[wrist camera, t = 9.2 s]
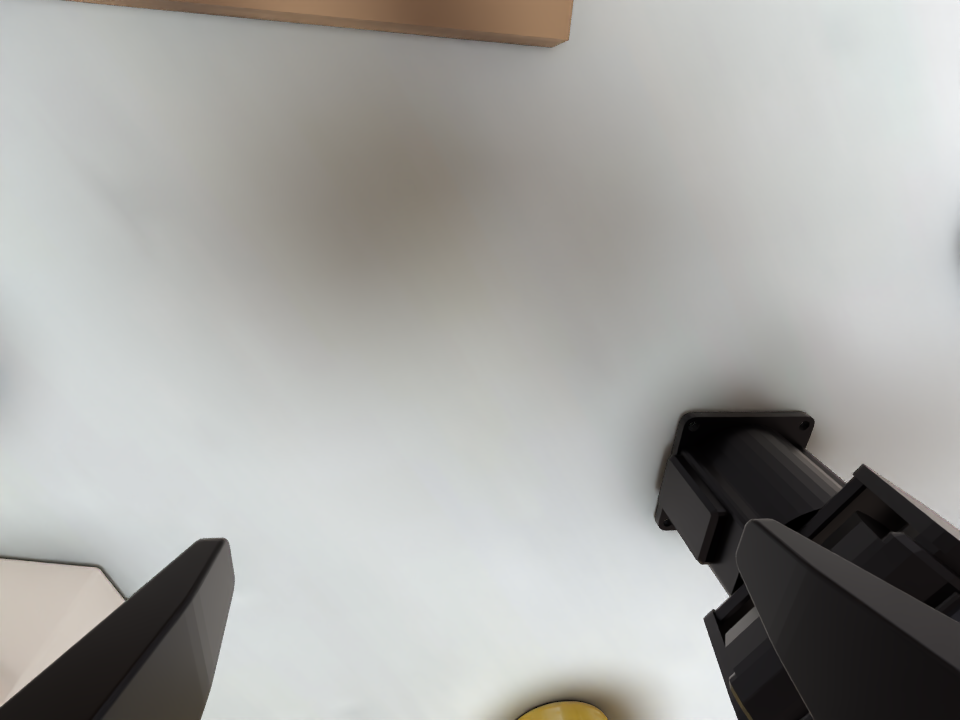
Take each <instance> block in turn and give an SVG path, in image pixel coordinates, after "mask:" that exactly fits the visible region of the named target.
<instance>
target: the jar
mask: <svg viewBox="0 0 960 720" xmlns="http://www.w3.org/2000/svg"><path fill="white" fill-rule="evenodd" d="M124 602H125V600H124V599H123V597H122V596H121V595H120V594H119V592H118V591H117V590H116V589H115V587H114V586H113V585H112V584H111V582H110V581H109V580H108V579H107V577H106V576H105V575H104V574H103V572H102V571H101V570H100V569H99V568H96V567H86V566H76V565H65V564H55V563H44V562H34V561H23V560H12V559H2V558H0V707H1V706H2V705H3V704H4V703H5V702H7V701H8V700H9V699H10V698H11V697H13V696H14V695H15V694H16V693H17V692H18V691H20V690H21V689H22V688H23V687H24V686H26V685H27V684H28V683H29V682H30V681H31V680H33V679H34V678H35V677H36V676H37V675H39V674H40V673H41V672H42V671H43V670H44V669H46V668H47V667H48V666H49V665H50V664H52V663H53V662H54V661H55V660H56V659H57V658H59V657H60V656H61V655H62V654H63V653H65V652H66V651H67V650H68V649H69V648H71V647H72V646H73V645H74V644H75V643H76V642H78V641H79V640H80V639H81V638H82V637H84V636H85V635H86V634H87V633H88V632H89V631H91V630H92V629H93V628H94V627H95V626H97V625H98V624H99V623H100V622H101V621H102V620H104V619H105V618H106V617H107V616H108V615H110V614H111V613H112V612H113V611H114V610H115V609H117V608H118V607H119V606H120V605H121V604H123V603H124Z"/></svg>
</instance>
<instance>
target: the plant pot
mask: <svg viewBox="0 0 960 720" xmlns="http://www.w3.org/2000/svg"><path fill="white" fill-rule="evenodd" d="M518 720H608V719H607V717H606V716H605V715H604V714H603V712H602V711H601V710H599V709H598V708H596V707H595V706H593V705H590V704H587V703H583V702H576V701H563V702H555V703H550V704H546V705H543V706H540V707H537V708H535V709H533V710H531V711H529V712H528V713H526V714H524V715H523V716H522V717H520V718H519V719H518Z"/></svg>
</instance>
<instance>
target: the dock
mask: <svg viewBox="0 0 960 720" xmlns="http://www.w3.org/2000/svg"><path fill="white" fill-rule="evenodd" d="M66 1H76V2H86V3H97V4H107V5H117V6H128V7H138V8H148V9H159V10H169V11H179V12H190V13H200V14H210V15H221V16H231V17H241V18H252V19H262V20H272V21H283V22H293V23H303V24H314V25H324V26H334V27H345V28H355V29H366V30H376V31H386V32H397V33H407V34H417V35H428V36H438V37H448V38H459V39H469V40H479V41H490V42H500V43H510V44H521V45H531V46H541V47H554V46H557V45H559V44H561V43H563V42H565V41H568V40H569V33H570V24H571V16H572V7H573V0H66Z"/></svg>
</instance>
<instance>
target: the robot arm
mask: <svg viewBox="0 0 960 720" xmlns="http://www.w3.org/2000/svg"><path fill="white" fill-rule="evenodd" d="M692 422H695V423H694V425H692V426H690V427H689V425H690V424H691V423H692ZM802 422H803V423H802ZM801 423H802V424H801ZM814 423H815V422H814V419H813V418H812V417H810V416H809V415H808V414H806V413H804V412H692V413H688V414H686V415H684V416H683V417H682V418H681V420H680V422H679V426H678V430H677V434H676V438H675V442H674V446H673V449H672V453H671V456H670V458H669V459H668V462H667V466H666V470H665V474H664V477H663V481H662V485H661V489H660V493H659V497H658V502H659V504H658V508H657V512H656V516H655V521H656V523H657V525H658V526H659V528H660V529H662V530H666V531H667V530H677V531H678V532H679V534H680V536H681V537H682V539H683V540H684V542H685V543H686V545H687V546H688V548H689V549H690V551H691V552H692V554H693V555H694V557H695V559H696V560H697V561H698V562H699V563H700V564H701V565H704V564H708V565H709V567H710V568H711V570H712V571H713V573H714V574H715V576H716V577H717V579H718V580H719V582H720V583H721V585H722V586H723V588H724V589H725V591H726V592H727V593H728V595H729V596H730V597H729V598H728V599H727V600H726V601H725V602H724V603H723V604H721V605H720V606H719V607H718V608H717V609H716V610H714V609H713V610H712V611H711V612H709V613H708V614H707V615H706V616H705V617H704V622H705V625H706V628H707V631H708V634H709V637H710V640H711V643H712V646H713V649H714V652H715V655H716V658H717V661H718V664H719V667H720V670H721V673H722V676H723V679H724V682H725V685H726V688H727V691H728V694H729V697H730V700H731V703H732V705H733V707H734V710H735V713H736V716H737V718H738V720H960V530H958V529H957V528H956V527H954V526H953V525H952V524H950V523H949V522H948V521H946V520H945V519H943V518H942V517H941V516H939V515H938V514H937V513H935V512H934V511H933V510H931V509H930V508H928V507H927V506H925V505H924V504H922V503H921V502H919V501H918V500H916V499H915V498H913V497H912V496H910V495H909V494H907V493H906V492H904V491H903V490H901V489H900V488H898V487H897V486H896V485H894V484H893V483H891V482H890V481H888V480H887V479H885V478H884V477H882V476H881V475H879V474H878V473H876V472H875V471H873V470H872V469H870V468H869V467H867V466H866V465H864V464H862V465H861V466H860V467H859V468H858V469H857V470H856V471H855V472H854V473H853V475H854V477H853V478H852V479H851V480H850V481H849V482H848V483H845V482H844V481H843V480H842V479H841V478H840V477H838V476H837V475H836V474H835V473H834V472H832V471H831V470H830V469H829V468H828V467H826V466H825V465H824V464H823V463H822V462H820V461H819V460H818V459H817V458H816V457H814V456H813V455H812V454H811V453H810V452H808V451H807V450H806V449H805V448H806V446H807V443H808V440H809V438H810V435H811V432H812V430H813V427H814ZM800 424H801V425H800ZM666 519H668V520H666ZM665 520H666V521H665ZM234 583H235V576H234V569H233V563H232V557H231V551H230V545H229V542H228V540H227V539H225V538H203V539H199V540H198V541H196V542H195V543H193V544H192V545H191V546H190V547H189V548H188V549H186V550H185V551H184V552H183V553H182V554H180V555H179V556H178V557H177V558H176V559H175V560H173V561H172V562H171V563H170V564H169V565H167V566H166V567H165V568H164V569H163V570H162V571H160V572H159V573H158V574H157V575H156V576H154V577H153V578H152V579H151V580H150V581H149V582H147V583H146V584H145V585H144V586H143V587H141V588H140V589H139V590H138V591H137V592H136V593H134V594H133V595H132V596H131V597H130V598H128V599H127V600H126V601H125V602H124V603H123V604H121V605H120V606H119V607H118V608H117V609H115V610H114V611H113V612H112V613H111V614H110V615H108V616H107V617H106V618H105V619H104V620H102V621H101V622H100V623H99V624H98V625H97V626H95V627H94V628H93V629H92V630H91V631H89V632H88V633H87V634H86V635H85V636H84V637H82V638H81V639H80V640H79V641H78V642H76V643H75V644H74V645H73V646H72V647H71V648H69V649H68V650H67V651H66V652H65V653H63V654H62V655H61V656H60V657H59V658H57V659H56V660H55V661H54V662H53V663H52V664H50V665H49V666H48V667H47V668H46V669H44V670H43V671H42V672H41V673H40V674H39V675H37V676H36V677H35V678H34V679H33V680H31V681H30V682H29V683H28V684H27V685H26V686H24V687H23V688H22V689H21V690H20V691H18V692H17V693H16V694H15V695H14V696H13V697H11V698H10V699H9V700H8V701H7V702H5V703H4V704H3V705H2V706H1V707H0V720H201V717H202V714H203V711H204V708H205V705H206V702H207V699H208V696H209V693H210V689H211V686H212V682H213V678H214V674H215V669H216V665H217V661H218V656H219V652H220V648H221V643H222V639H223V635H224V630H225V626H226V622H227V617H228V613H229V609H230V604H231V600H232V596H233V591H234Z"/></svg>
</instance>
